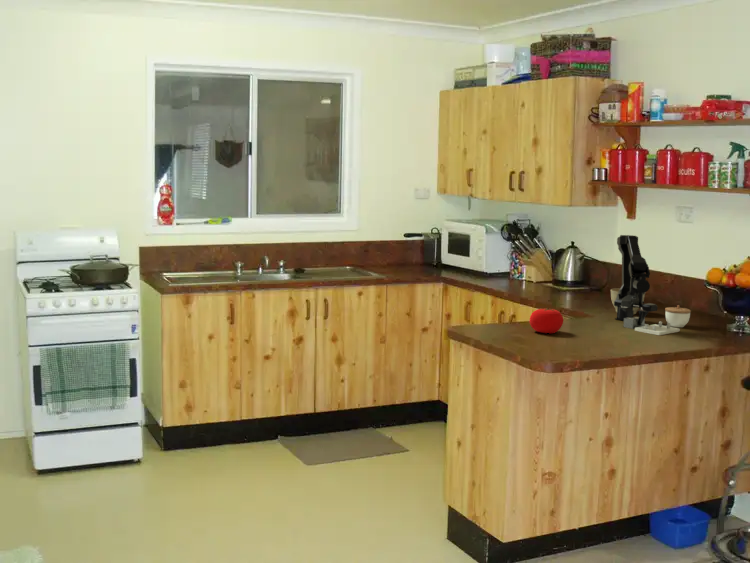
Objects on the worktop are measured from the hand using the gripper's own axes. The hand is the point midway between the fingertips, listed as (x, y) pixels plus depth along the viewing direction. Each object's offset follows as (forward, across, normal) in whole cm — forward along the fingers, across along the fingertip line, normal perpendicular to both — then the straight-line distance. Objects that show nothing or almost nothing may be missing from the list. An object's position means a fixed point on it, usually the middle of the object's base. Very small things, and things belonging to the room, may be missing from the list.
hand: (634, 324), depth 403 cm
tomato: (+2, -13, -45) cm, 47 cm away
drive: (+1, 0, 0) cm, 1 cm away
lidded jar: (+1, +9, +20) cm, 22 cm away
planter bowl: (+2, -24, +30) cm, 38 cm away
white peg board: (+1, +11, +1) cm, 11 cm away
